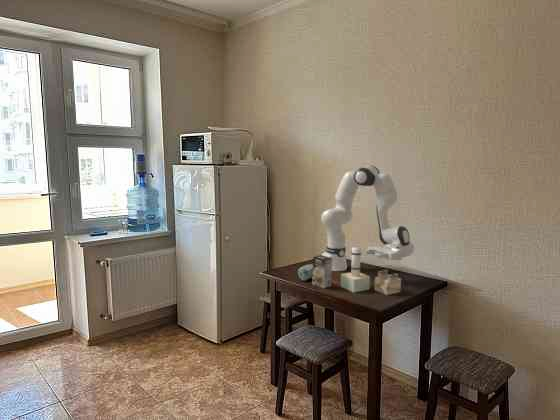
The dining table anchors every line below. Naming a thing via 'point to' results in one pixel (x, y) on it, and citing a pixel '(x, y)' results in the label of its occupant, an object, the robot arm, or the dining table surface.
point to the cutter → (336, 283)
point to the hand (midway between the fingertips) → (372, 254)
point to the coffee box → (322, 271)
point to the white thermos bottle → (355, 262)
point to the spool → (306, 272)
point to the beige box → (355, 282)
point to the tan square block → (387, 283)
